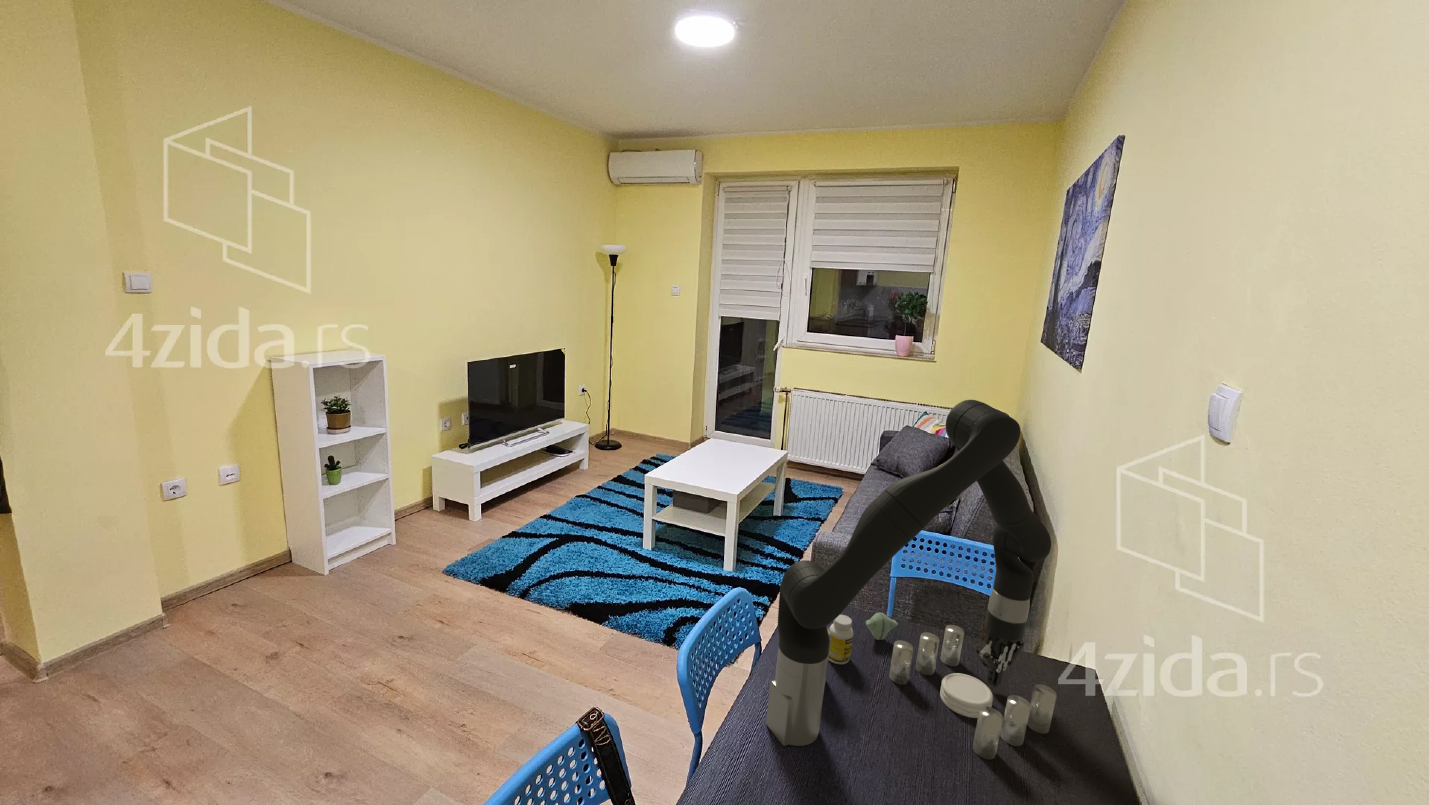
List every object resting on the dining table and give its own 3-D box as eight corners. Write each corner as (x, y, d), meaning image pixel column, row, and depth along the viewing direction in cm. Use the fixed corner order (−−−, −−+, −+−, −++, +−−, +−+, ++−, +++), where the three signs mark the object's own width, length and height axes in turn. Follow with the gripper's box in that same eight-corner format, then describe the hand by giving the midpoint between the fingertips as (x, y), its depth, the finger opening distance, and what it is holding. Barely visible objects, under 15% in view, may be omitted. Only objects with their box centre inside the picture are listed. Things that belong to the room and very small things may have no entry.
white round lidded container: (994, 699, 127) (996, 684, 126) (986, 727, 118) (989, 712, 118) (945, 679, 132) (947, 665, 131) (934, 705, 124) (937, 690, 123)
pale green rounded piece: (865, 644, 142) (868, 619, 141) (859, 634, 146) (862, 609, 145) (896, 643, 143) (900, 618, 142) (889, 633, 147) (893, 609, 146)
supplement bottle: (844, 668, 133) (850, 629, 131) (822, 659, 136) (826, 620, 133) (853, 656, 137) (858, 618, 135) (830, 647, 140) (835, 610, 138)
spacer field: (985, 762, 109) (993, 724, 107) (885, 675, 132) (890, 642, 130) (1053, 730, 119) (1061, 695, 117) (948, 653, 141) (953, 623, 139)
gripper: (1002, 628, 119) (988, 703, 122) (1044, 614, 125) (1029, 686, 128) (971, 608, 125) (958, 680, 129) (1012, 596, 131) (998, 665, 135)
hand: (993, 683), depth 129 cm, fingers closed
